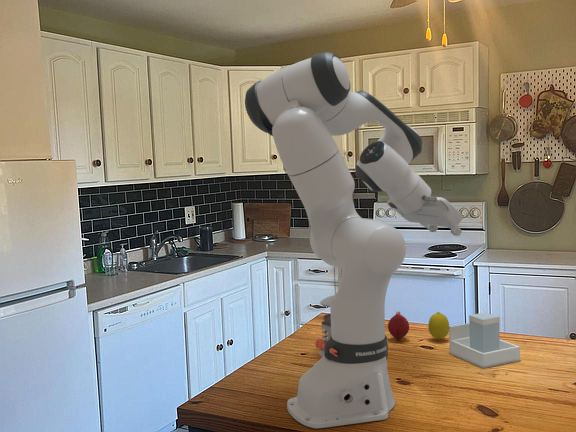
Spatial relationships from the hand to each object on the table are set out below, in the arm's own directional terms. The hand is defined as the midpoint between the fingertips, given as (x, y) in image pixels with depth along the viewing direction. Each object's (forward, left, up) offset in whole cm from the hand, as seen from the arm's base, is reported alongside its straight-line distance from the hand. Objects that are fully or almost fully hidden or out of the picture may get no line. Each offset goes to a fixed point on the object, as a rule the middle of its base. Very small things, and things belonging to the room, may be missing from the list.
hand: (446, 232), depth 148 cm
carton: (+6, -7, -31) cm, 32 cm away
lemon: (+4, +10, -32) cm, 33 cm away
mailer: (+6, -7, -31) cm, 33 cm away
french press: (-25, +14, -32) cm, 42 cm away
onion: (-5, +16, -32) cm, 36 cm away
